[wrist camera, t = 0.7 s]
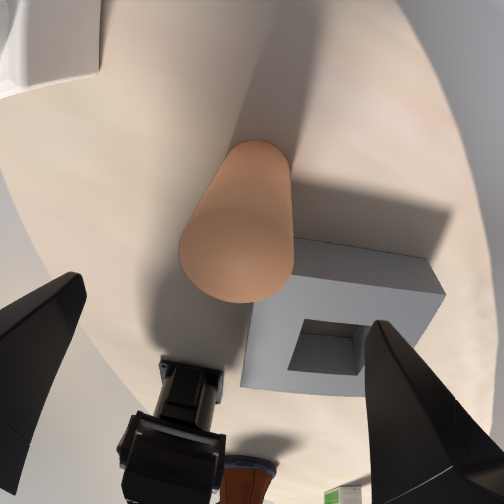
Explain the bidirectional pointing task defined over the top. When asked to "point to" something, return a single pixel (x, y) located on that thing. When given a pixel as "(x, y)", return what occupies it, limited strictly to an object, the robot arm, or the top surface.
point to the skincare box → (344, 495)
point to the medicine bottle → (47, 43)
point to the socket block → (335, 317)
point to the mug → (245, 480)
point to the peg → (242, 227)
